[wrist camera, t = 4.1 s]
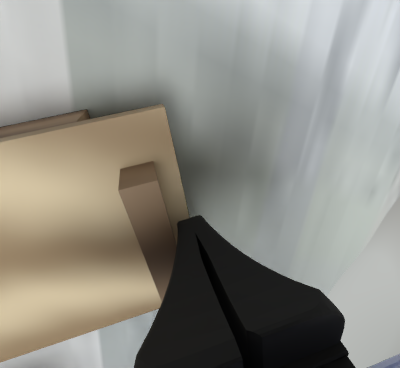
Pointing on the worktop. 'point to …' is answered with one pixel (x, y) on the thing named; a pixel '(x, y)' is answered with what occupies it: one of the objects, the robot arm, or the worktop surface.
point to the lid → (86, 226)
